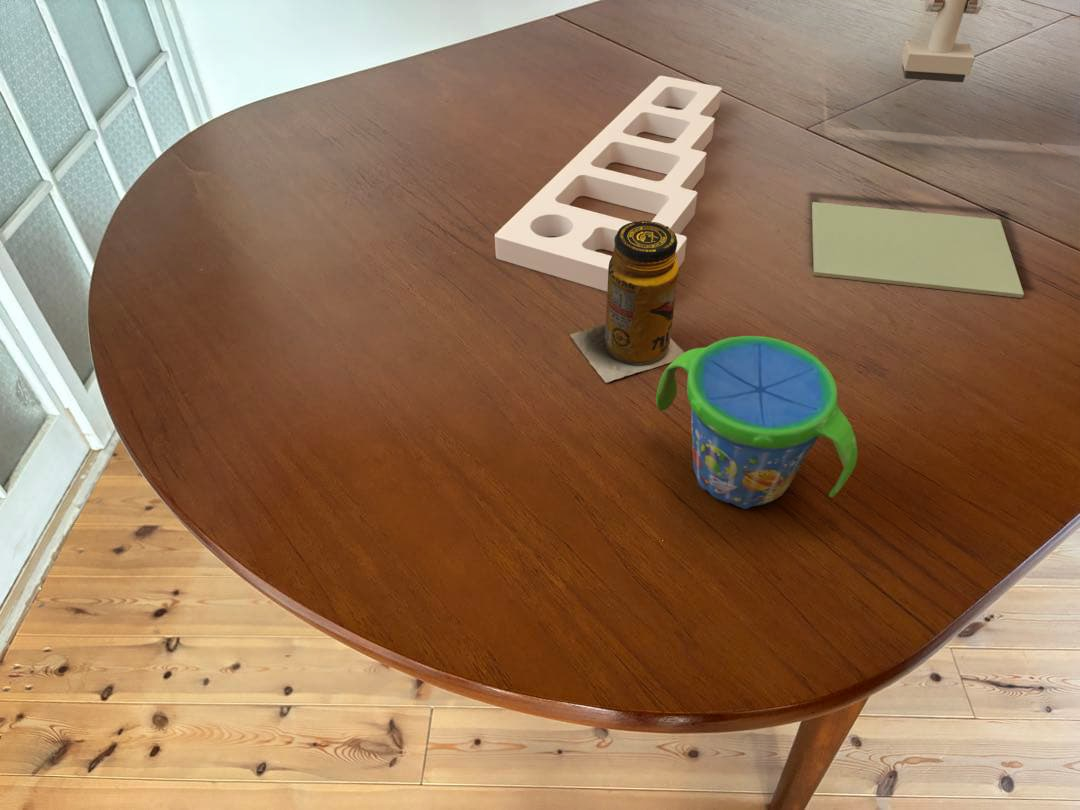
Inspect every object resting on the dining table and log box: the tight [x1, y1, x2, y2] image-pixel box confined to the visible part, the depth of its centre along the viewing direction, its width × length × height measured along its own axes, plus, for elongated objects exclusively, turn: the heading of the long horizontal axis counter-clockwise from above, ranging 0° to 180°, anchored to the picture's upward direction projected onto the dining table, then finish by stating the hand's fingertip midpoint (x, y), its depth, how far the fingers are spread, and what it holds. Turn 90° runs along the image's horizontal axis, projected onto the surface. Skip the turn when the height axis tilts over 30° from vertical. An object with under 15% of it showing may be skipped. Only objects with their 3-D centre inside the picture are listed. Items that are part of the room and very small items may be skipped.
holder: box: [494, 75, 723, 293], centre depth 101 cm, size 45×18×3 cm, turn 152°
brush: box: [901, 0, 976, 83], centre depth 95 cm, size 7×4×13 cm, turn 78°
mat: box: [811, 201, 1025, 299], centre depth 91 cm, size 20×14×1 cm
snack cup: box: [655, 335, 858, 510], centre depth 65 cm, size 16×10×10 cm
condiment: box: [569, 220, 686, 383], centre depth 76 cm, size 7×8×12 cm
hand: (953, 10), depth 94 cm, fingers closed on brush, 2 cm apart
